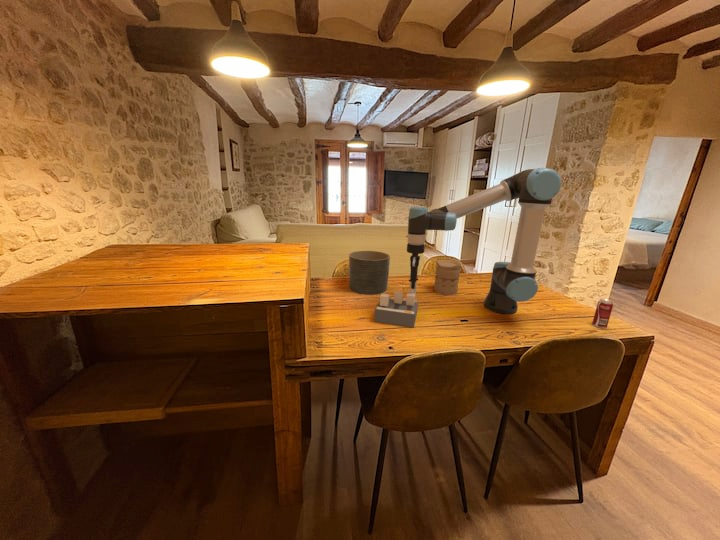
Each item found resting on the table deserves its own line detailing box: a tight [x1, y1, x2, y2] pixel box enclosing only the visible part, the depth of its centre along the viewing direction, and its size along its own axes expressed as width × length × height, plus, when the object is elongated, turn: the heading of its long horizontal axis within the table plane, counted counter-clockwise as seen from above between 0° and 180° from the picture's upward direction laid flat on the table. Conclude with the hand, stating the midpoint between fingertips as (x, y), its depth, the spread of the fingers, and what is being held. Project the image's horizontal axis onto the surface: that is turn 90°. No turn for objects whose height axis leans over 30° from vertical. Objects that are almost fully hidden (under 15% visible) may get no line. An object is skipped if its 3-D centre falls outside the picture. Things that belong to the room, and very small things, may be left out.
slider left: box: [379, 292, 391, 307], centre depth 132 cm, size 4×4×4 cm
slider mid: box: [393, 290, 404, 304], centre depth 135 cm, size 4×4×4 cm
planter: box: [348, 250, 391, 296], centre depth 165 cm, size 22×22×20 cm
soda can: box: [591, 298, 614, 329], centre depth 131 cm, size 5×5×12 cm
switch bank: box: [374, 296, 419, 328], centre depth 134 cm, size 17×16×6 cm
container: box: [433, 258, 462, 296], centre depth 163 cm, size 13×13×18 cm
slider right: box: [405, 292, 416, 306], centre depth 133 cm, size 4×4×4 cm
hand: (412, 294), depth 135 cm, fingers closed
